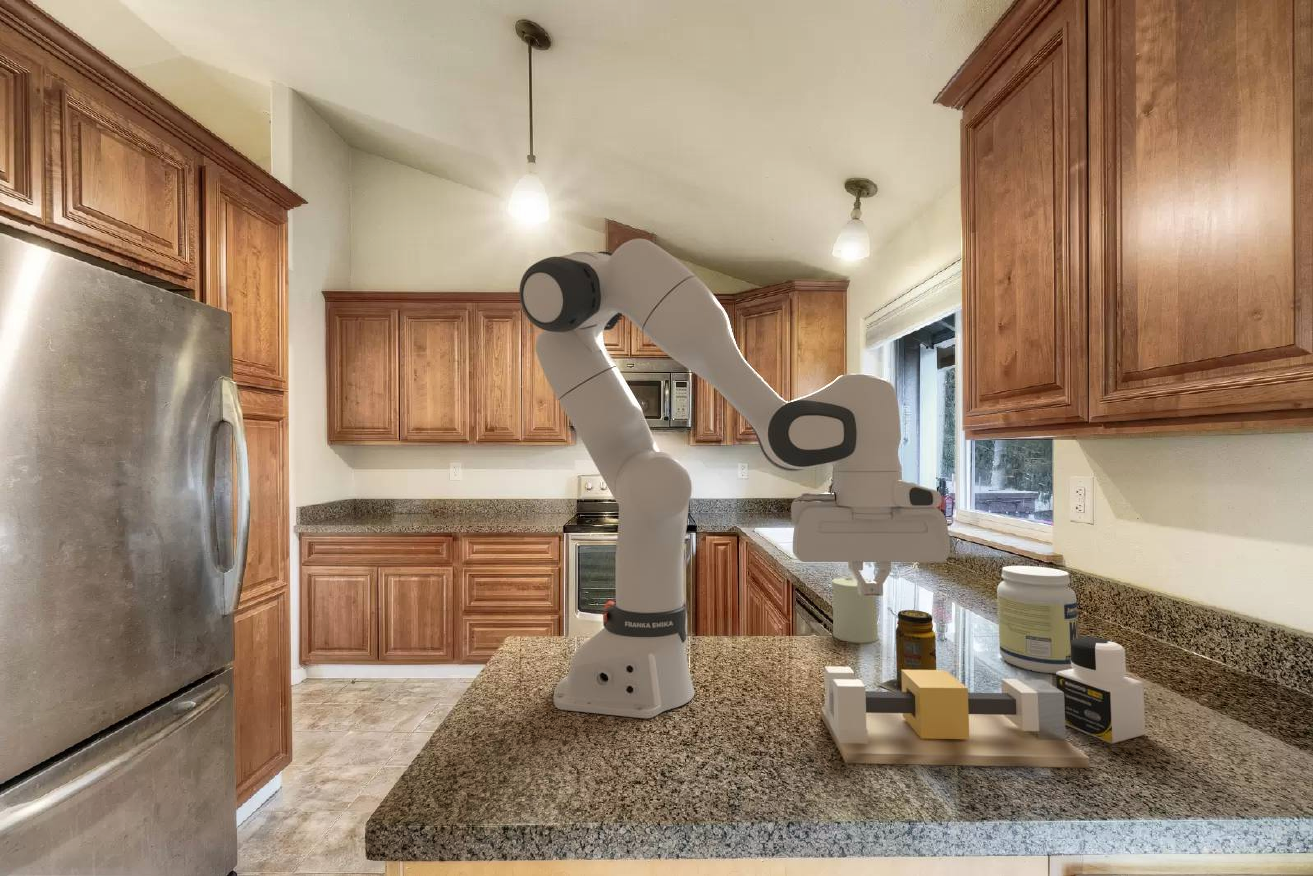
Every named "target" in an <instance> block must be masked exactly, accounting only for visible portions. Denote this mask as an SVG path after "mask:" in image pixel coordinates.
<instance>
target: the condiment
mask: <svg viewBox="0 0 1313 876" xmlns="http://www.w3.org/2000/svg"><path fill="white" fill-rule="evenodd" d="M897 619H898V620H897V627H896V629H895V654H896V655H895V660H896V661H895V663H896V664H895V665H896V678H893V679H889V680H887V681H883V682H879V683H878V684H877V685H878V686H879V687H882V688H884V689H887V690H889V691H890V692H902V674H901V670H937V649H936V648H937V646H936V645H937V644H936V640H937V639H936V633H935V631H934V624H933V615H932V614H930V613H929V612H926V611H921V610H916V609H904V610H900V611H898V613H897Z"/></svg>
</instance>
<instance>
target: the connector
mask: <svg viewBox="0 0 1313 876" xmlns="http://www.w3.org/2000/svg"><path fill="white" fill-rule="evenodd" d="M1016 679H1017V678H1016ZM1017 680H1019V681H1020V682H1022V683H1023V684H1025V685H1026V686H1028V687H1029V688H1031V689H1032V690H1034V691H1036V692H1037V693H1038V715H1039V731H1028V732H1029V733H1031V734H1032V735H1033V736H1034V737H1036V738H1037V739H1038V740H1066V741H1067V736H1066V735H1067V734H1066V732H1067V729H1066V728H1067V727H1066V725H1065V703H1064V692H1062V691H1061V690H1059V689H1057V686H1054V685H1052V684H1051V683H1049V682H1048V681H1046V680H1044V679H1023V678H1022V679H1017Z"/></svg>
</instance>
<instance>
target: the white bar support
mask: <svg viewBox="0 0 1313 876" xmlns="http://www.w3.org/2000/svg"><path fill="white" fill-rule="evenodd" d="M855 677H856V676H855V671H854V670H853V669H852V668H851V666H829V665H828V666H826V665H825V666H824V695H825V696H824V697H825V698H824V701H825V702H824V708H825V717H826V718H827V720H828V722H829V724H830V726H831V728H832V729H833V731H834V733H835V735H836V737H837V739H838V741H839V742H840V743H860V744H868V733H867V728H866V686H865V684H864V683H863V682H862V680H861V679H858V678H855ZM833 697H834V706H833Z"/></svg>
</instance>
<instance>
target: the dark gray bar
mask: <svg viewBox="0 0 1313 876" xmlns="http://www.w3.org/2000/svg"><path fill="white" fill-rule="evenodd" d="M865 691H866V690H865ZM833 706H834V697H833ZM968 711H969V714H991V715H1016V699H1015V698H1013V697H1012V696H1011V695H1009V694H1008V693H1002V692H968ZM866 713H915V695H914V694H913V693H912V692H894V691H866Z"/></svg>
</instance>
